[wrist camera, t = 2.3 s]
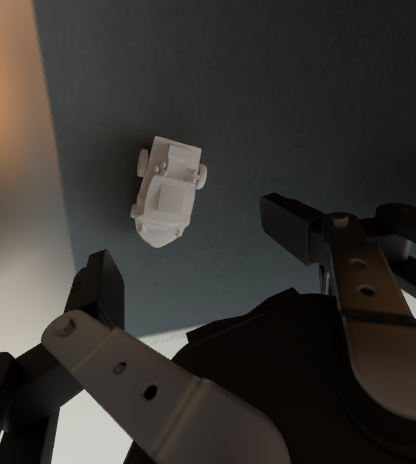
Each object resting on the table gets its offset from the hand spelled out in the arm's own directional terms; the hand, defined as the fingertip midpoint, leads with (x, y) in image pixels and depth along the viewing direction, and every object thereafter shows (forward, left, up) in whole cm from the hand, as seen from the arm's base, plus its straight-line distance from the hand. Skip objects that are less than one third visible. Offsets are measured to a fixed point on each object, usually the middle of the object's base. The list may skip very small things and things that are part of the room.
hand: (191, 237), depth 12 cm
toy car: (0, 0, -8) cm, 8 cm away
